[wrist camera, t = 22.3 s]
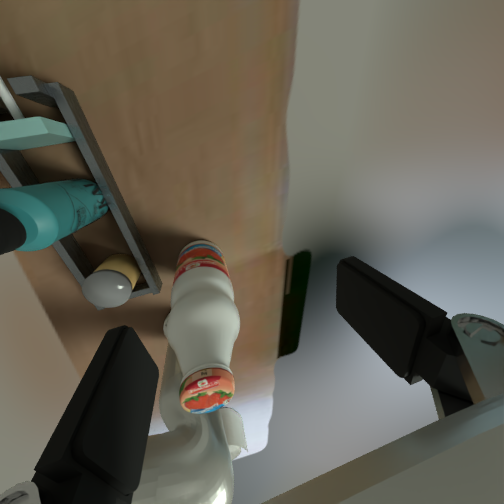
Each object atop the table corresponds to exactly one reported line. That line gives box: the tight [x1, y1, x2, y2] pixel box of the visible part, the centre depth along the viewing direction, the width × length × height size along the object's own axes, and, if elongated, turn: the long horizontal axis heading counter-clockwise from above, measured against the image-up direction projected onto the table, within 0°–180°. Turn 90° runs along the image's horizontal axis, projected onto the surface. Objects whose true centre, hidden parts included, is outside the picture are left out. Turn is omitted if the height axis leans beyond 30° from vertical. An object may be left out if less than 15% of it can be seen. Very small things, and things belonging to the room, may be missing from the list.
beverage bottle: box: [0, 178, 109, 255], centre depth 24 cm, size 6×7×20 cm
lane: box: [0, 76, 162, 310], centre depth 31 cm, size 33×11×6 cm, turn 10°
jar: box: [82, 254, 141, 308], centre depth 36 cm, size 7×7×8 cm
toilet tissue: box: [220, 408, 248, 461], centre depth 63 cm, size 11×12×10 cm
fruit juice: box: [166, 240, 240, 414], centre depth 30 cm, size 9×9×28 cm
